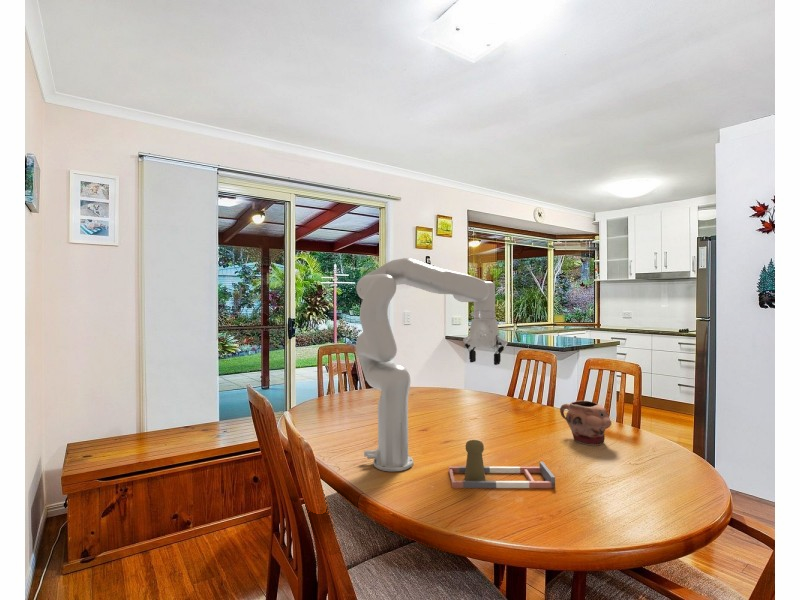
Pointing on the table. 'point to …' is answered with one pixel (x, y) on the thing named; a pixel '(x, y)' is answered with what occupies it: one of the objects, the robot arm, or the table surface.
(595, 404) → the sculpted ceramic mug
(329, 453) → the table surface
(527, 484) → the frame
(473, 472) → the cork
